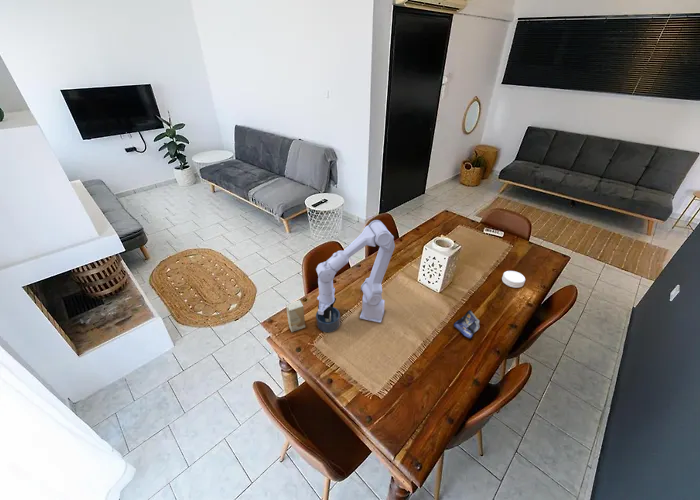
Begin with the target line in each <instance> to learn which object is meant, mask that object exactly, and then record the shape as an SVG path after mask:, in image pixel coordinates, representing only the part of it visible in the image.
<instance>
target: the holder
mask: <svg viewBox="0 0 700 500" xmlns="http://www.w3.org/2000/svg"><path fill="white" fill-rule="evenodd" d="M315 323H316V327H317V328H318V330H320V331H322V332H323V333H332V332H335V331H337V330H338V329H339V328H340V325H341V313H340V311H339V309H338V308H337V307H334V306H333V310H332V313H331V322H326V321H325V318H324V316H323V315H320V314H318V310H316V313H315Z"/></svg>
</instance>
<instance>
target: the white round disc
mask: <svg viewBox="0 0 700 500" xmlns="http://www.w3.org/2000/svg"><path fill="white" fill-rule="evenodd" d="M501 281H502V283H503V284H504V285H505V286H507V287H510V288H512V289H513V288H514V289H519V288H522V287H523V286H524V285H525V282H526V277H525V276H524V275H523V274H522V273H521V272H518V271H515V270H506V271H504V272H503V273H502V277H501Z"/></svg>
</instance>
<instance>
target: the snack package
mask: <svg viewBox="0 0 700 500" xmlns="http://www.w3.org/2000/svg"><path fill="white" fill-rule="evenodd" d="M480 327H481V325H480V319H479V318H477V316H476V315H475V314H474V313H473V311H472V309H469V310H467V311H466V313H465V314H464V315H463V316H462V317H460V318H459V319H458V320H455V322H454V323H453V328H456V329H457V330H458V332H460V334H461V335H463V337H465V338H467V339H469V340H472V339H473V336H474V335H475V333H476V332H477V331H479V329H480Z"/></svg>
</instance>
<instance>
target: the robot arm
mask: <svg viewBox="0 0 700 500" xmlns="http://www.w3.org/2000/svg"><path fill="white" fill-rule="evenodd" d="M388 229H389V228H387V226H386V225H385V224H384V222H382V221H381V220H380V219H374V220H372V221H370V223H369V224H368V225H366V226H365V227H364V228H363V230H362V232H361V233H360V234H359V235H358V236H357V237H355V239H354V240H353V241H352V242H351V243H350V244H349V245H347V246H346V248H344V250H337V251H336V252H334V253H332V255H331V256H330V257H329V258H327V259H326V261H323V262H320V263H318V264H317V266H316V267H315V271H316V273H317V277H318V278H317V284H318V296H317V297H316V300H317V301H318V305H317V311H318V314H320V315H323V316H324V318H326V319H329V317H330V311H331V313H332V310H333V307H334V305H335V303H336V301H337V298H336V296H335V292H336V287H334V278H335V275H336V274H337V273H338V272H339V271H340V270H341V269H342V268H344V267H345V266H346V265H347V264H348V263H349V261H350V258H351V257H353V256H354V255H355V254H357V253H358V252H359V251H360V250H362V249H363V248H365V247H366V246H368V247H373V248H374V247H376V246H378V251H377V255H376V257H375V260H374V262H373V265H372V268H371V271H370V273H369V277H365V280H364V282H363V283H362V284H361V286H360V290H361V291H362V293H363V295H362V306H361V307H362V309H361V313H360V314H359V319H360V320H366V321H369V322H375V323H379V324H381V323H382V321H383V317H384V315H385V304H386V300H385V299H383V297H382V296H383V295H382V294H383V286H382V285H383V284H382V282H383V280H384V276H385V274H386V272H387V270H388V267H389V264H390V261H391V259H392V256H393V254H394V251H395V248H396V244H395V240H394V239H395V236H394V235H393V234H392V233H391V231H389V230H388ZM329 306H330V307H329Z"/></svg>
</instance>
